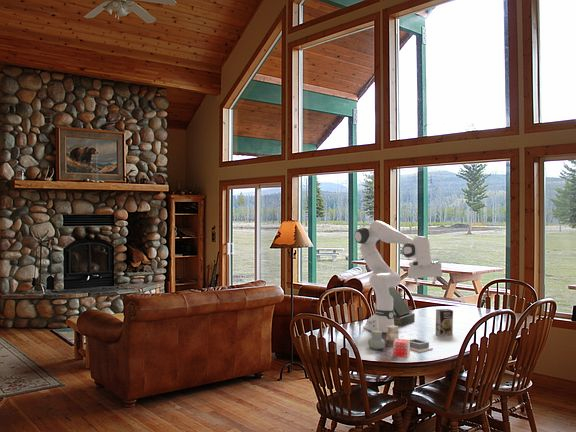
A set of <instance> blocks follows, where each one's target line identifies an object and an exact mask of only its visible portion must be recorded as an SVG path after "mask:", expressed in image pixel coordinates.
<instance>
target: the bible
mask: <svg viewBox="0 0 576 432" xmlns="http://www.w3.org/2000/svg"><path fill="white" fill-rule="evenodd" d="M389 293H390V295H391V296H392V297H393V310H394V315H393V317H394V325H395V326H398V327H400V328H402V327H404V326H407V325H409V324H411V323H415V322H416V321H415V320H416V319H415V317H416V316H415V313H413V312H412V310H411V309H410V307H409V306H408V305H407V303H406V302H405V300H404V299H403V298H402V296H401V295H400V293H399V291H398V290H397V289H396V288H395V287H393V288H389Z"/></svg>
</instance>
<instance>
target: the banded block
mask: <svg viewBox="0 0 576 432" xmlns="http://www.w3.org/2000/svg"><path fill="white" fill-rule="evenodd" d="M385 333H386V339H385V344H389V345H393V341H394V340H395V339H399V326H395V325H392V326H387V332H385Z"/></svg>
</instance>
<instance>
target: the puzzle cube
mask: <svg viewBox="0 0 576 432" xmlns="http://www.w3.org/2000/svg"><path fill="white" fill-rule="evenodd" d="M410 340H411V339H405V338H404V339H403V338H398V339H395V340H394V341H393V344H392V346H393V347H392V356H393V357H401V358H408V357H409V356H410V354H411V350H410Z"/></svg>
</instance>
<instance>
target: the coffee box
mask: <svg viewBox="0 0 576 432" xmlns="http://www.w3.org/2000/svg"><path fill="white" fill-rule="evenodd" d="M453 325H454V310H453V309H449V308H443V309H442V308H440V309H437V308H436V309H435V334H436V335H438V336H441V337H442V336H446V337H447V336H453V335H454V334H453V329H454V328H453V327H454V326H453Z"/></svg>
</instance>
